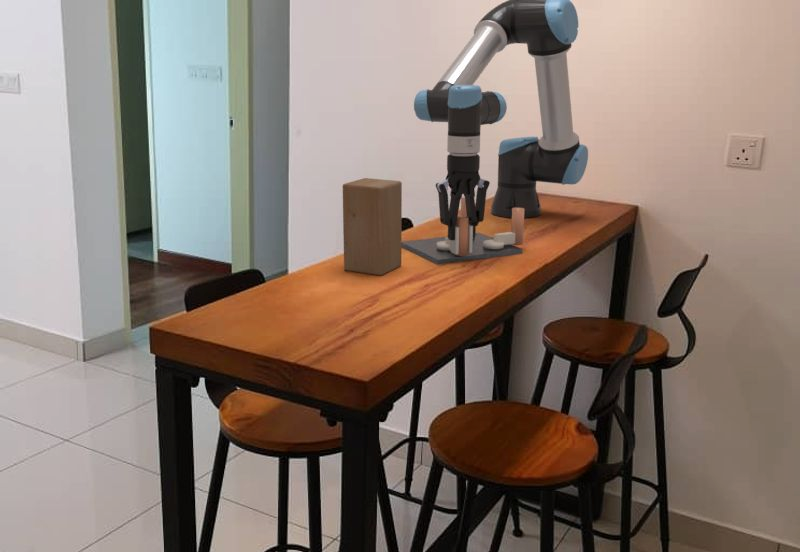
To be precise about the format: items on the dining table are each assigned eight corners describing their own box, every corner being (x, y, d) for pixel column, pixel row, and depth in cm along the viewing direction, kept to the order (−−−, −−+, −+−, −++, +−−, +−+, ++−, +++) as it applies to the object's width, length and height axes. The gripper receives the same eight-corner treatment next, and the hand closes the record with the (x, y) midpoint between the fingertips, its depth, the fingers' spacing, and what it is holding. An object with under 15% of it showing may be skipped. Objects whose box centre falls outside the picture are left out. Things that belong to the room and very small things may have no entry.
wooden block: (343, 270, 182) (341, 183, 177) (365, 260, 191) (364, 177, 185) (381, 276, 178) (381, 187, 172) (402, 265, 187) (402, 180, 181)
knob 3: (490, 249, 195) (491, 213, 193) (479, 245, 199) (480, 210, 197) (527, 245, 200) (529, 209, 197) (516, 241, 204) (517, 206, 202)
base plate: (479, 236, 215) (479, 228, 214) (522, 253, 198) (522, 244, 197) (399, 246, 205) (399, 237, 204) (438, 264, 188) (438, 255, 187)
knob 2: (474, 239, 206) (475, 205, 203) (454, 239, 206) (455, 204, 204) (475, 230, 216) (476, 197, 214) (456, 229, 217) (457, 197, 214)
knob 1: (433, 246, 198) (433, 211, 196) (450, 244, 200) (451, 209, 198) (455, 256, 189) (456, 219, 186) (473, 254, 191) (474, 217, 188)
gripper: (440, 157, 178) (438, 259, 184) (501, 153, 184) (498, 252, 191) (425, 153, 184) (424, 252, 191) (485, 150, 191) (482, 245, 197)
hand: (461, 252), depth 191 cm, fingers closed on knob 1, 3 cm apart
